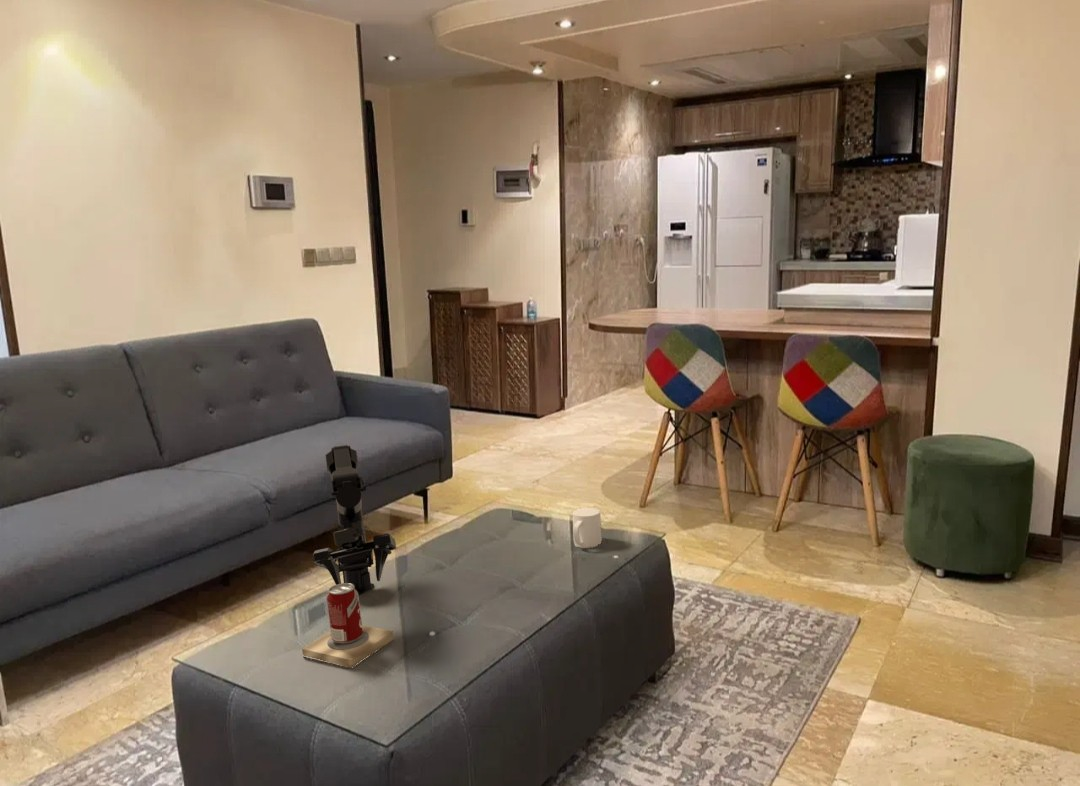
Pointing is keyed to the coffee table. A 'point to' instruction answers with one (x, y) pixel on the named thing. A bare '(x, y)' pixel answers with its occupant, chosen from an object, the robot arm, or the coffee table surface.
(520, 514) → the coffee table surface
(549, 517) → the coffee table surface
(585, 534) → the mug
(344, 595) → the soda can
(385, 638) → the base slab
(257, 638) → the coffee table surface
